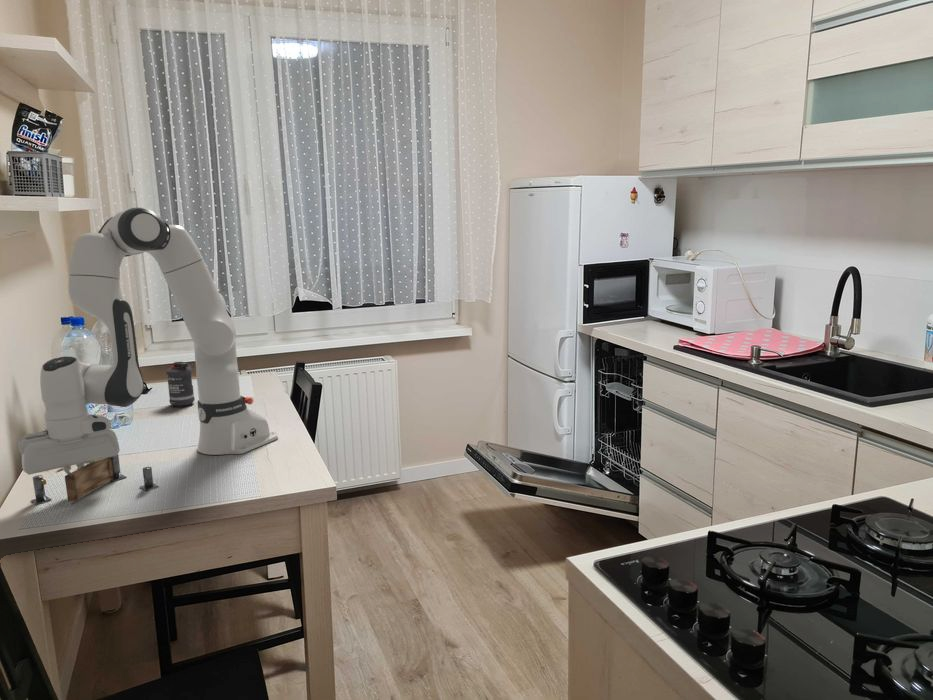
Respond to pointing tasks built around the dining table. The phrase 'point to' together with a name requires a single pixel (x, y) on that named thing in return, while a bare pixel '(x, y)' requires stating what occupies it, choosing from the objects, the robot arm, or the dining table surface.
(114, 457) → the hinge post
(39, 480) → the latch stile
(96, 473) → the gate
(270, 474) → the dining table surface
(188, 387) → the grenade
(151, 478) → the post
